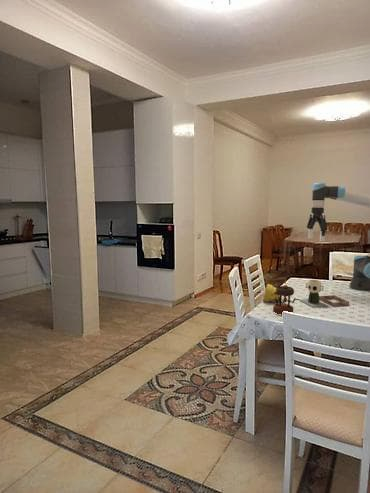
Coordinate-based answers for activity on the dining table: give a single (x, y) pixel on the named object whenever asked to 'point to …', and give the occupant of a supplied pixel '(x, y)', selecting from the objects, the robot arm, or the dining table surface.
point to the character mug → (314, 290)
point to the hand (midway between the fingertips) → (316, 239)
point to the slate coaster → (314, 303)
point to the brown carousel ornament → (270, 293)
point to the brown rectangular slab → (340, 303)
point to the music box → (284, 292)
